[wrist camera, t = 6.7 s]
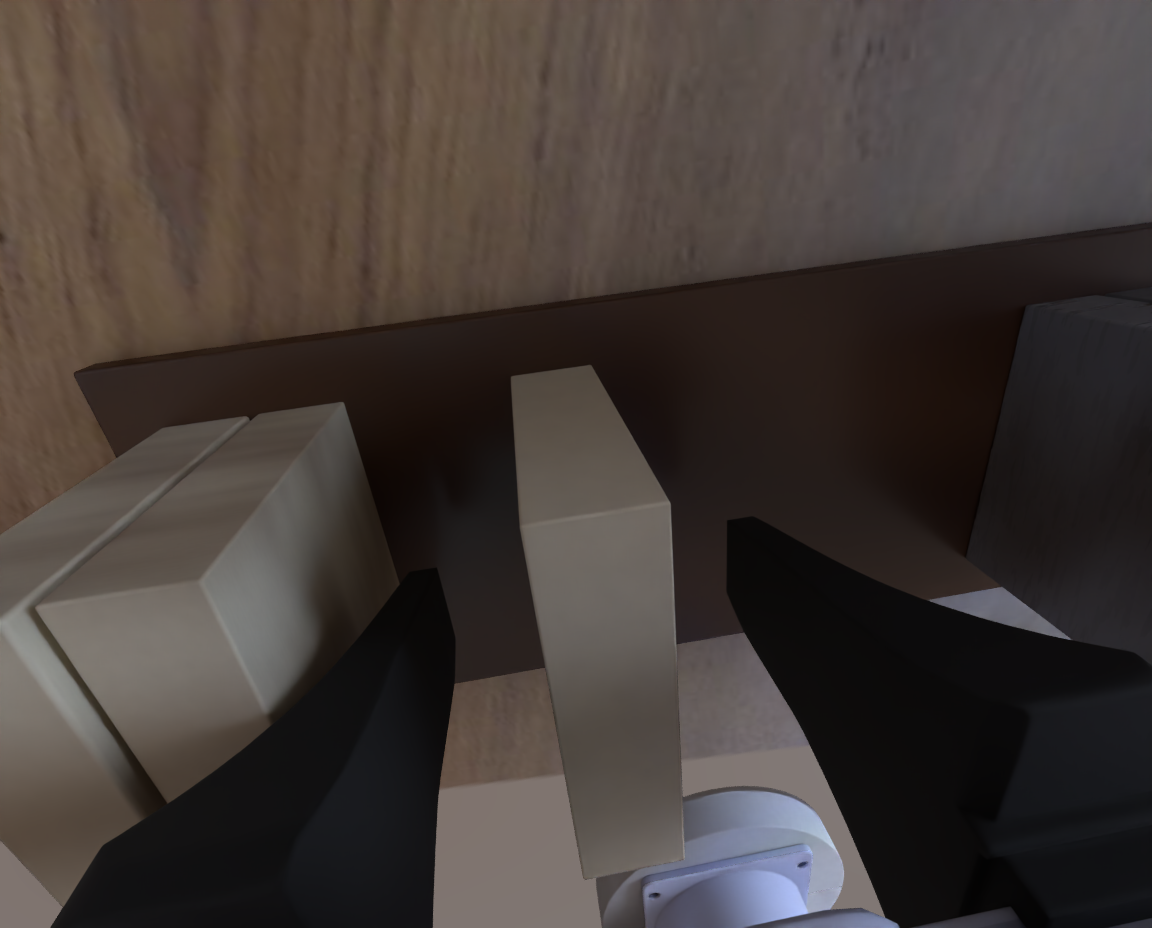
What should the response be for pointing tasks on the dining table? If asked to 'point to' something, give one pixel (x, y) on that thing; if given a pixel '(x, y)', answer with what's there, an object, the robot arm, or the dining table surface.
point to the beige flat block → (602, 617)
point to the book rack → (490, 498)
